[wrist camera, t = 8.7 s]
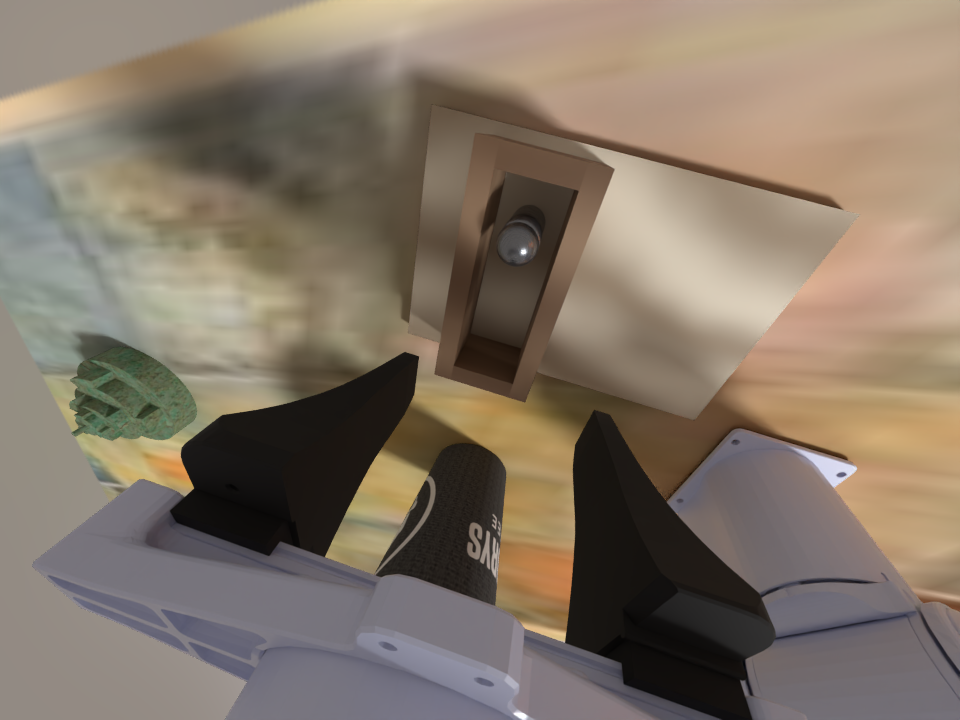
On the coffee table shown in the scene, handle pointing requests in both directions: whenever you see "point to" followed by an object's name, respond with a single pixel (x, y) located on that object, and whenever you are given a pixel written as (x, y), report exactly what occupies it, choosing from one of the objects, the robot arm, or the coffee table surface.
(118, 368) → the decorative artifact
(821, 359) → the coffee table surface
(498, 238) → the peg
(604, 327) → the birch board
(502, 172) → the walnut link
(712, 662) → the robot arm
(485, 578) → the coffee cup
